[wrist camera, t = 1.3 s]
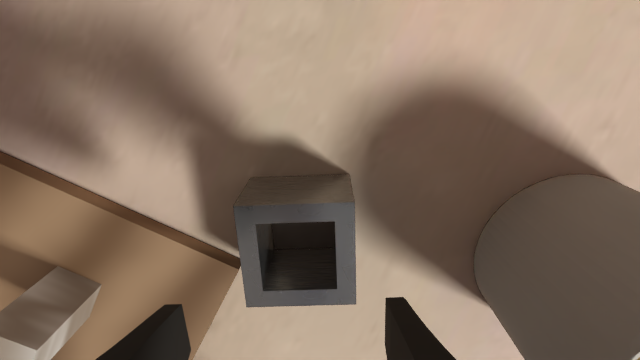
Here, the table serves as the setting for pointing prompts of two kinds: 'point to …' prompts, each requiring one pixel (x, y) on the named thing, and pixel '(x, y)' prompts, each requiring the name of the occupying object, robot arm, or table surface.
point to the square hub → (296, 264)
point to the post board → (93, 270)
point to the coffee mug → (565, 269)
